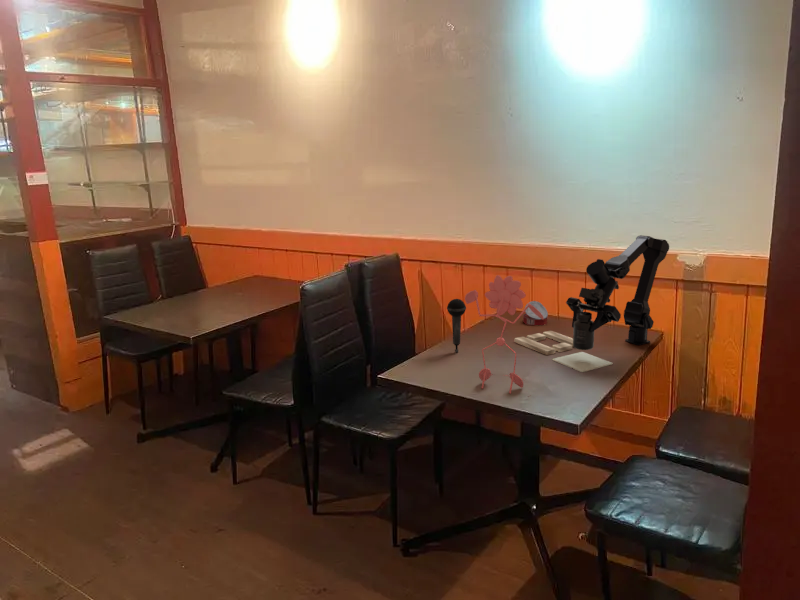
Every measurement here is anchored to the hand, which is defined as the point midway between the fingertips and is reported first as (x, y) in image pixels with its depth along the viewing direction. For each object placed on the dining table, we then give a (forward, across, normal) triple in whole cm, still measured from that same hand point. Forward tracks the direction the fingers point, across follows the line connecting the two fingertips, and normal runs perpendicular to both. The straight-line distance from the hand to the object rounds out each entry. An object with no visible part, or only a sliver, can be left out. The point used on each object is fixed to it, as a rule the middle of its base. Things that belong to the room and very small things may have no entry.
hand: (581, 329), depth 210 cm
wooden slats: (+3, -20, +14) cm, 25 cm away
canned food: (-10, -42, +28) cm, 52 cm away
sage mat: (+8, 0, +9) cm, 12 cm away
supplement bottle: (+4, 0, +6) cm, 7 cm away
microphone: (+25, -36, -8) cm, 45 cm away
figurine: (+32, -4, -15) cm, 35 cm away
